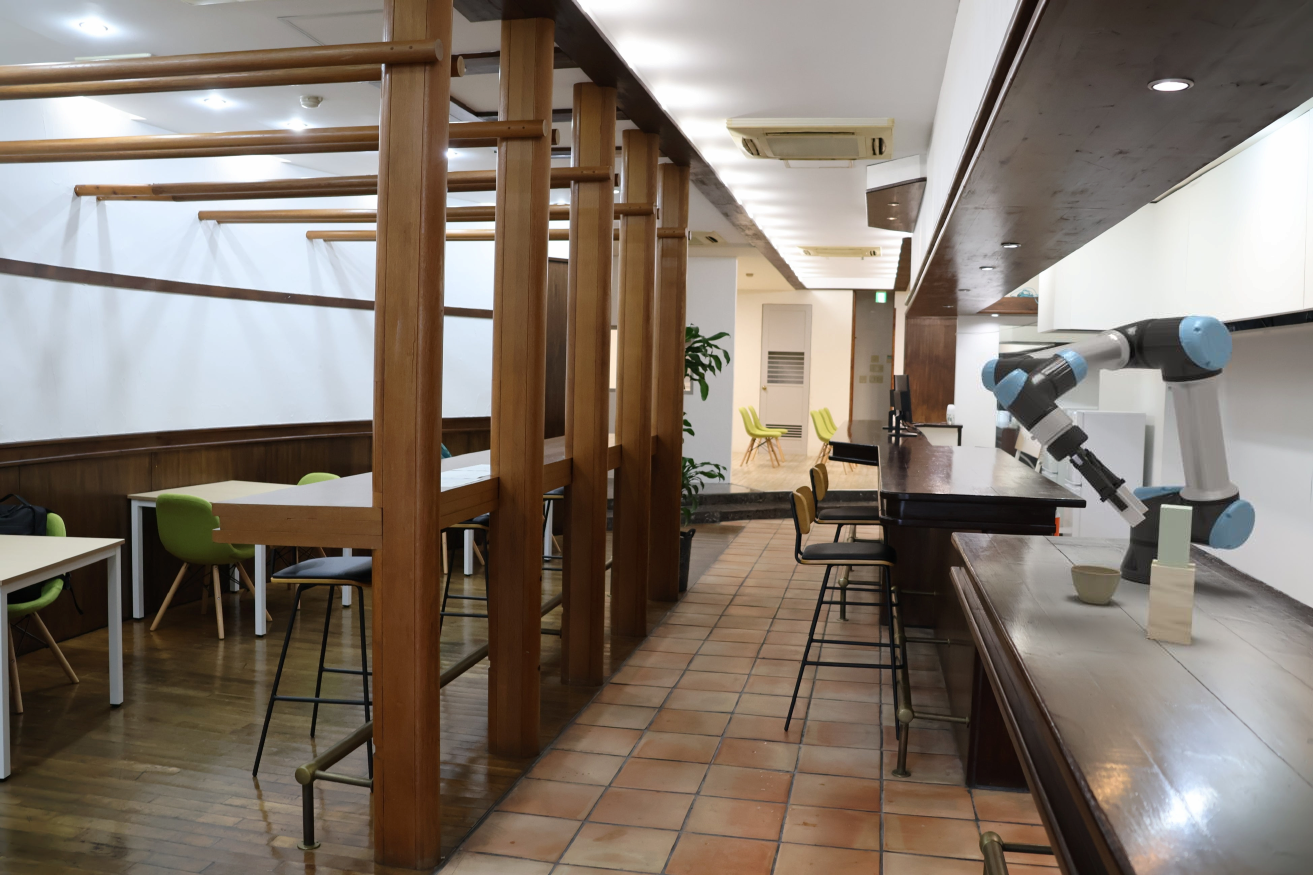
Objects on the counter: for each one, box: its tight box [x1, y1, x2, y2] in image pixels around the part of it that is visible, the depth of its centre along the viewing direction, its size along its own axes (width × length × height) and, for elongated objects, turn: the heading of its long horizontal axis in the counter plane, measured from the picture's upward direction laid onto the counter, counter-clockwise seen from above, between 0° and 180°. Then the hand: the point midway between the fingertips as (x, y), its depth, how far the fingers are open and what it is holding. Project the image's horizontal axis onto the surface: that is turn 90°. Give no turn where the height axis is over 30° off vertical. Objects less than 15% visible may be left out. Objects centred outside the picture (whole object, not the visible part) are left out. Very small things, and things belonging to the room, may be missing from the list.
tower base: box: [1146, 601, 1194, 646], centre depth 167 cm, size 7×7×7 cm
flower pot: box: [1070, 564, 1122, 605], centre depth 194 cm, size 10×10×7 cm
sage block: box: [1157, 504, 1192, 569], centre depth 166 cm, size 5×5×11 cm
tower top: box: [1148, 559, 1196, 609], centre depth 167 cm, size 7×7×7 cm
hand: (1141, 518), depth 169 cm, fingers open, 13 cm apart
